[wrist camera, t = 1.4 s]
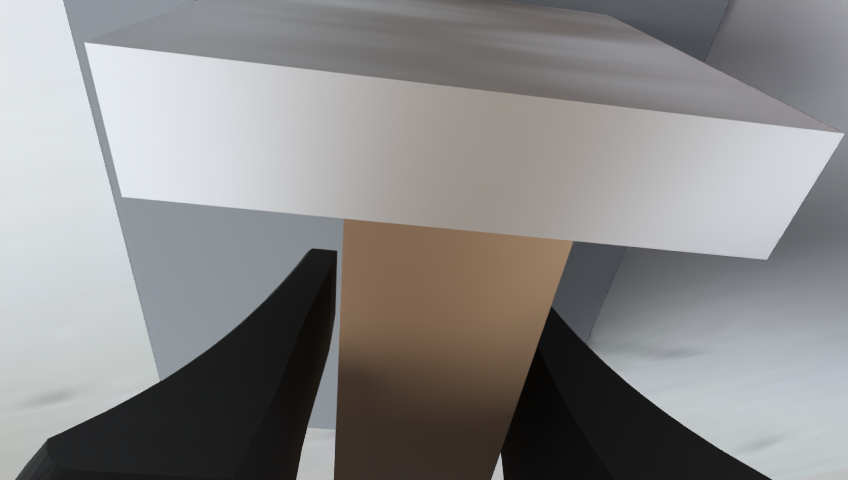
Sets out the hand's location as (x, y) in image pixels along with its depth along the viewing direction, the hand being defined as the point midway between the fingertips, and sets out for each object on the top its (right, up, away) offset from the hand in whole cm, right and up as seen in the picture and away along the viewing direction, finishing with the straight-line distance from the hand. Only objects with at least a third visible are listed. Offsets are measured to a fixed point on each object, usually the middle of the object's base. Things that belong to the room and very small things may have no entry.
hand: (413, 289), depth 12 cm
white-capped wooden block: (0, +2, +1) cm, 2 cm away
